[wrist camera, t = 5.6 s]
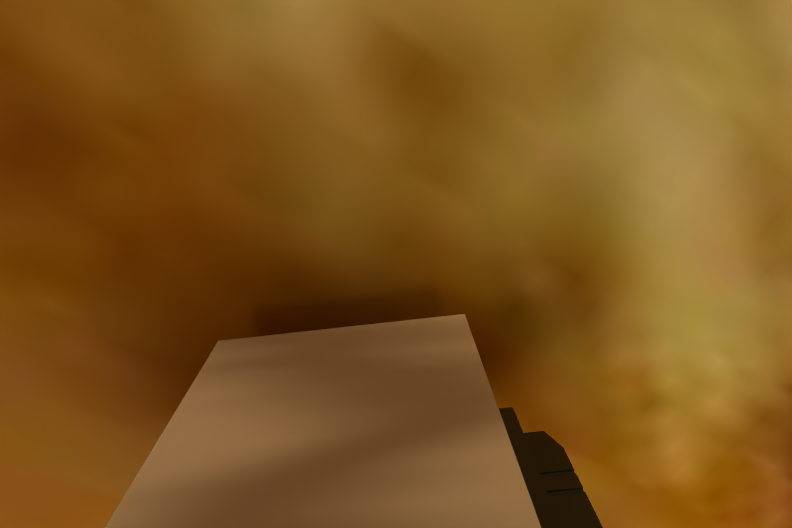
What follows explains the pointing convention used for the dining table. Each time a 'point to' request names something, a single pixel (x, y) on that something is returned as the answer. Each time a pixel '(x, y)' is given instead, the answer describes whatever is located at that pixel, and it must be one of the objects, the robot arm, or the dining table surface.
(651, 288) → the dining table surface
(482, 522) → the maple block
